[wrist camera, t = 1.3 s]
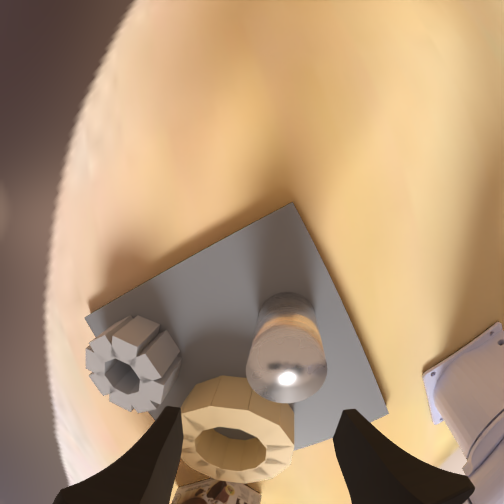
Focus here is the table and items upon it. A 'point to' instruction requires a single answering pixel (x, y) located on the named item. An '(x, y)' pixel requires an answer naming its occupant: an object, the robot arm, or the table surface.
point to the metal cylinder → (286, 350)
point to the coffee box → (216, 493)
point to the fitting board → (231, 351)
